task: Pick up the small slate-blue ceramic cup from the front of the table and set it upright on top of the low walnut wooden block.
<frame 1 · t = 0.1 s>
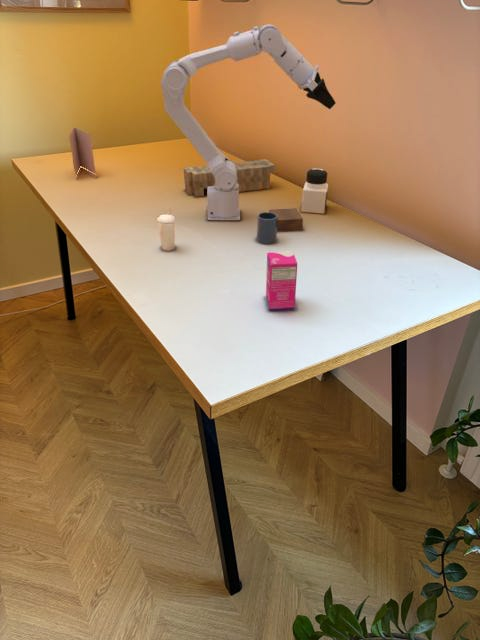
hand: (330, 102, 138), 32 cm above the table, tool tilted 50°, fingers open, 7 cm apart
block: (285, 225, 150), on the table
block tower: (229, 189, 175), on the table
medicine bottle: (313, 209, 161), on the table
greeting card: (87, 175, 185), on the table
supplement box: (279, 304, 114), on the table
milkshake: (169, 248, 137), on the table
cup: (266, 240, 141), on the table
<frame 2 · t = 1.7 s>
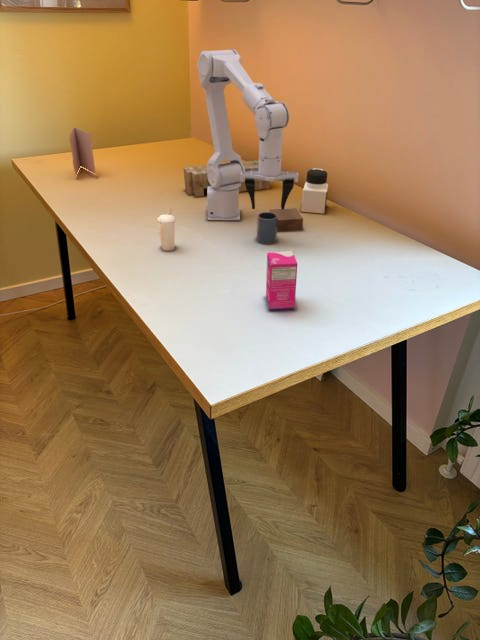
hand: (267, 207, 136), 9 cm above the table, tool pointing down, fingers open, 7 cm apart
nothing on the table moved.
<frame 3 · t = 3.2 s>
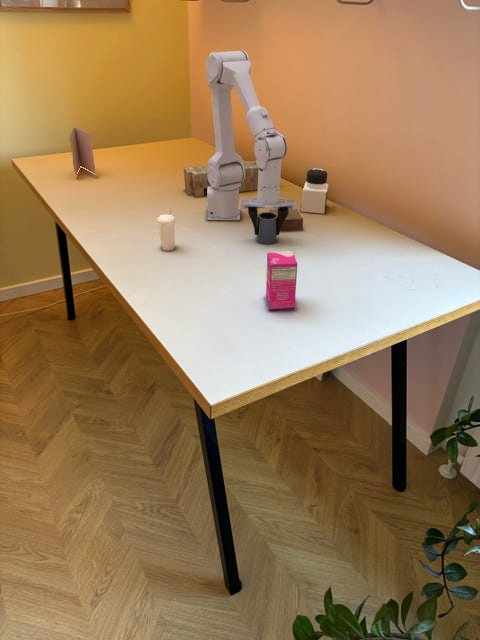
hand: (266, 233, 140), 2 cm above the table, tool pointing down, fingers closed on cup, 5 cm apart
cup: (266, 240, 141), on the table, touching gripper
everything else where it was.
when the fingers open (5 cm above the table, at t = 7.0 s): cup stays where it is, resting on block.
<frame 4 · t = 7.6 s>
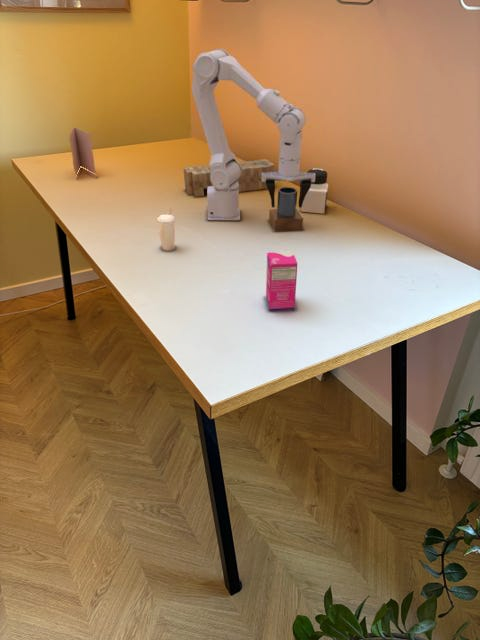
hand: (286, 206, 146), 6 cm above the table, tool pointing down, fingers open, 7 cm apart
block: (285, 225, 150), on the table, touching cup
cup: (286, 214, 148), point 3 cm above the table, touching block
everything else where it was.
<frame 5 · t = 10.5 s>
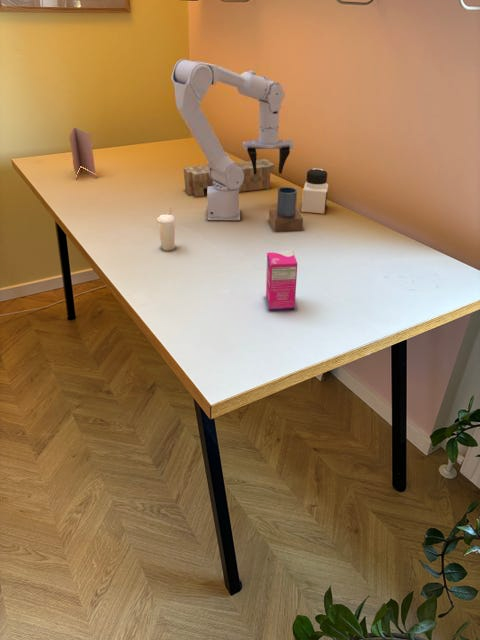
hand: (267, 172, 157), 10 cm above the table, tool pointing down, fingers open, 7 cm apart
nothing on the table moved.
at the end: cup 0.1 cm off-centre on the block, point 3.5 cm above the block's base; cup tilted 0°; cup touching block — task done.
